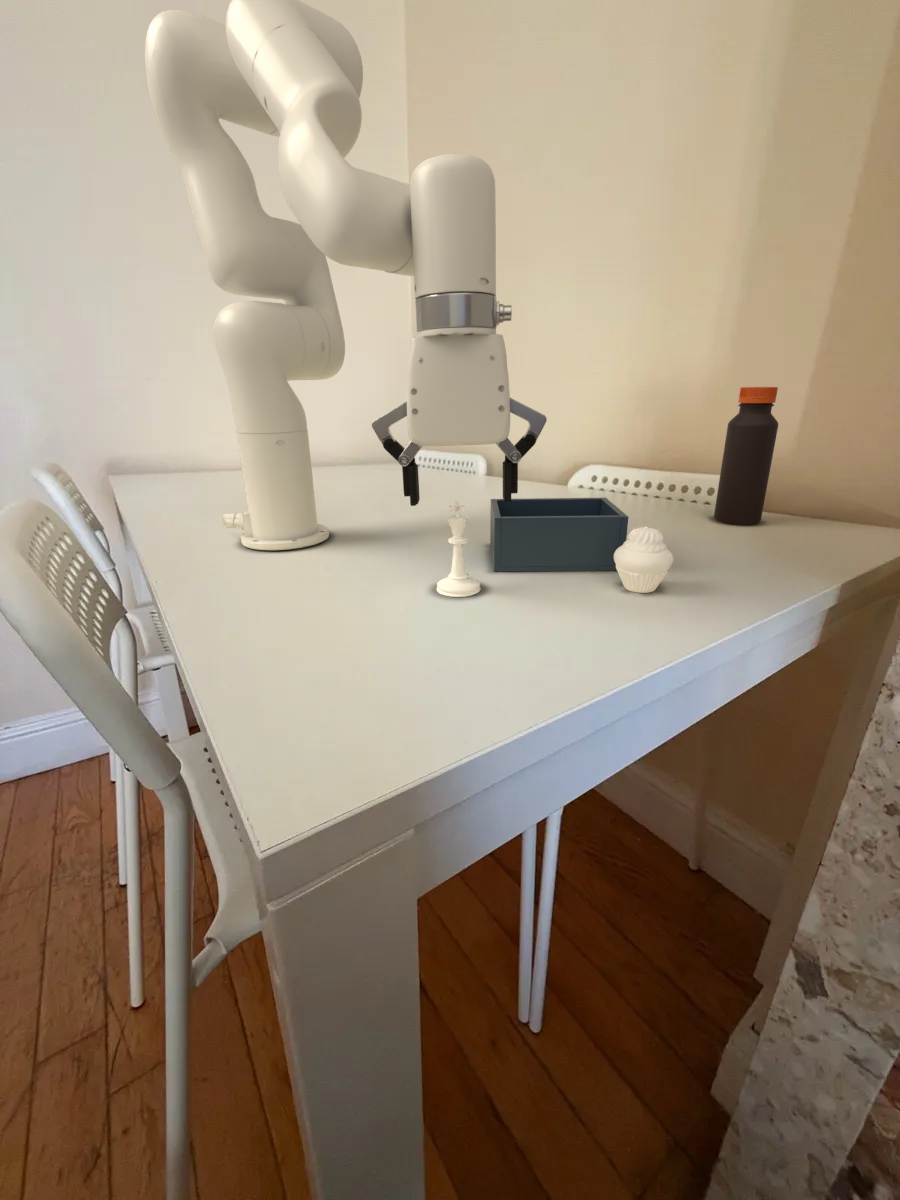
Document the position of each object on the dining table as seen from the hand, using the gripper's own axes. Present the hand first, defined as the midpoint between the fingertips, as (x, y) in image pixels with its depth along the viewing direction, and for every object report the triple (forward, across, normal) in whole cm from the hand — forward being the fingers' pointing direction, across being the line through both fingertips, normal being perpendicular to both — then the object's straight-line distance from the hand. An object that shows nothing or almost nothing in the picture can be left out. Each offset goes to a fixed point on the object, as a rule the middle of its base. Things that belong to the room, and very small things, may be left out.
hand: (460, 502), depth 60 cm
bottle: (+10, -44, -31) cm, 55 cm away
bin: (+10, -12, -12) cm, 20 cm away
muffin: (+10, -20, 0) cm, 22 cm away
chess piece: (+10, 0, 0) cm, 10 cm away
